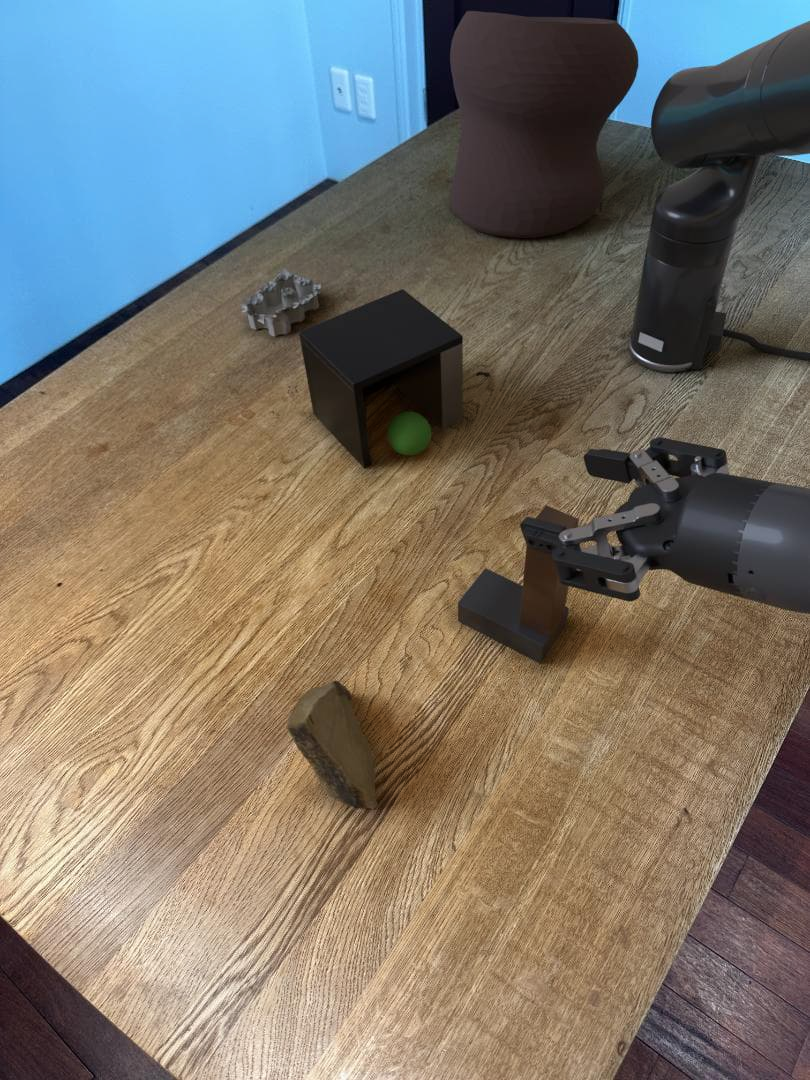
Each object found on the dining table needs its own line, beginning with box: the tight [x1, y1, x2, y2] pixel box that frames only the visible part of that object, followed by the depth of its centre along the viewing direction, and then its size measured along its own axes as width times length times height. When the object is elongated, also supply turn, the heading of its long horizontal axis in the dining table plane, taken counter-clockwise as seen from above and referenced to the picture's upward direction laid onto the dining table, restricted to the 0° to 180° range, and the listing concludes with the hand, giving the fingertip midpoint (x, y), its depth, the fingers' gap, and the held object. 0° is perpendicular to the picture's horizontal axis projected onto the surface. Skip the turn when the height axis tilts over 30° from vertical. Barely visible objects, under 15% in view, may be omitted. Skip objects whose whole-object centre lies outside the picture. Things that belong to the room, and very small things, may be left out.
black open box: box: [298, 288, 464, 469], centre depth 94 cm, size 12×14×12 cm
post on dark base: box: [457, 504, 580, 665], centre depth 72 cm, size 9×5×16 cm, turn 55°
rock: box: [286, 680, 378, 810], centre depth 68 cm, size 11×9×10 cm
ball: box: [386, 410, 432, 456], centre depth 93 cm, size 5×5×5 cm
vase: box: [448, 10, 639, 239], centre depth 121 cm, size 27×27×30 cm
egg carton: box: [240, 268, 323, 338], centre depth 113 cm, size 11×8×4 cm
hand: (557, 495), depth 62 cm, fingers open, 8 cm apart
